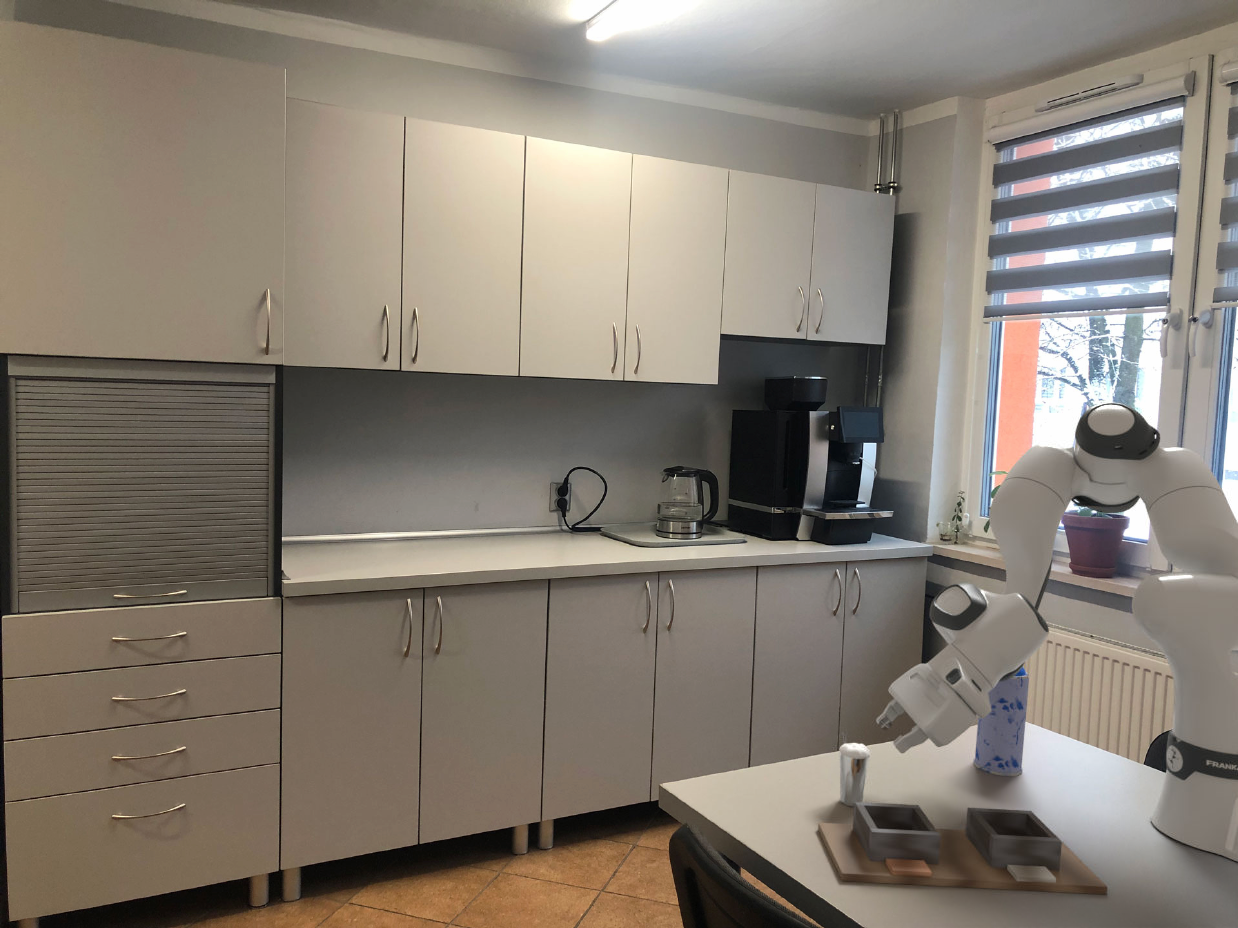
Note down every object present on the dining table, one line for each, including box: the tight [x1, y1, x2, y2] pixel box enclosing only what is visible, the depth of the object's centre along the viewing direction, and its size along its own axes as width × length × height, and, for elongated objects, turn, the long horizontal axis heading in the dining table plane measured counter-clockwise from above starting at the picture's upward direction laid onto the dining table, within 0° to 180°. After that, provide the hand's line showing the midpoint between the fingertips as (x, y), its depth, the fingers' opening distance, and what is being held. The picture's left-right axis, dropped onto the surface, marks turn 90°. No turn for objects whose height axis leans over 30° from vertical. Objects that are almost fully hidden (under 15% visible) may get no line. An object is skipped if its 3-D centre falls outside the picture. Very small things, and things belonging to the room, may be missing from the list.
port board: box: [817, 801, 1108, 895], centre depth 123 cm, size 34×14×5 cm, turn 90°
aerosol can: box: [973, 666, 1030, 777], centre depth 156 cm, size 8×8×20 cm
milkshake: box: [839, 731, 871, 808], centre depth 140 cm, size 5×5×10 cm
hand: (887, 736), depth 140 cm, fingers open, 8 cm apart
